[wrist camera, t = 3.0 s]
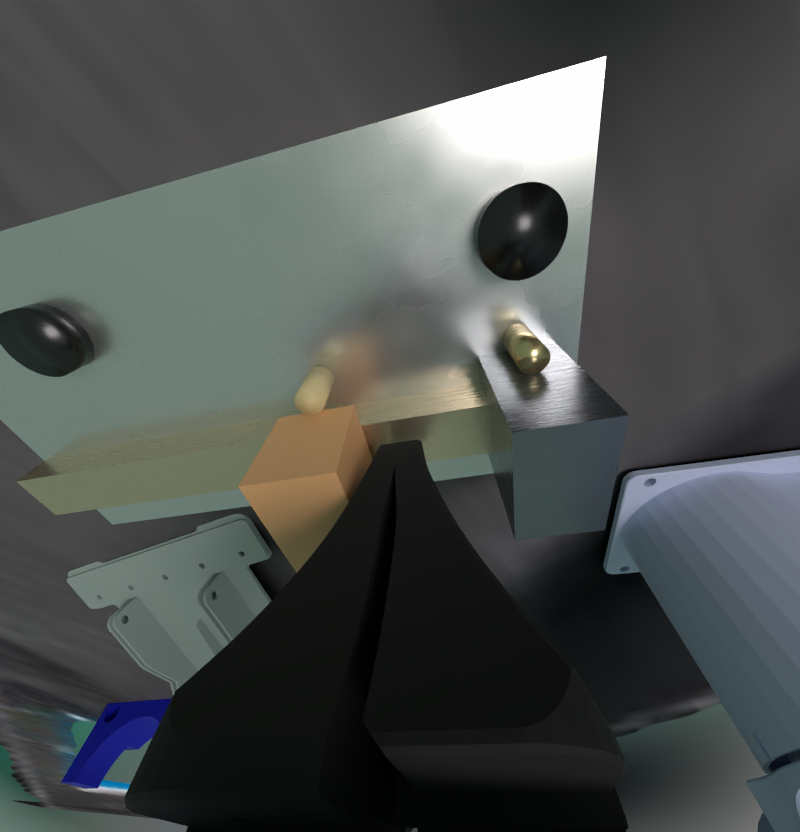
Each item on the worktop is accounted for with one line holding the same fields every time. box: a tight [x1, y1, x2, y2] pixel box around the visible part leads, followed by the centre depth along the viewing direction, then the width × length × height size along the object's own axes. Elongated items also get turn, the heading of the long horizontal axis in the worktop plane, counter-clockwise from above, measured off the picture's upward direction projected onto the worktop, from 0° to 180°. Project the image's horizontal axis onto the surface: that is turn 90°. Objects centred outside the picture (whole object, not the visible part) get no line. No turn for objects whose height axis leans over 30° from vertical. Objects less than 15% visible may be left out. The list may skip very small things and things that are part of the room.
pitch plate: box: [0, 56, 629, 540], centre depth 10 cm, size 22×12×6 cm, turn 102°
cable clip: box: [62, 699, 171, 789], centre depth 34 cm, size 12×4×6 cm, turn 105°
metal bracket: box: [67, 514, 272, 695], centre depth 22 cm, size 14×6×15 cm
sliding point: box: [238, 366, 373, 573], centre depth 10 cm, size 2×5×4 cm, turn 12°
